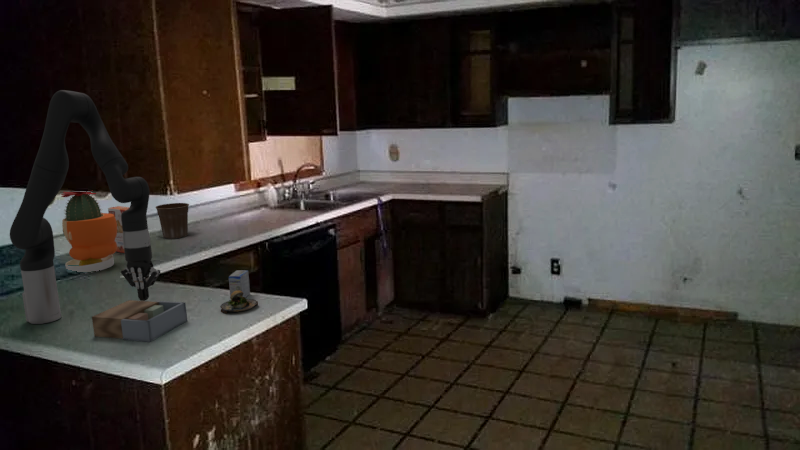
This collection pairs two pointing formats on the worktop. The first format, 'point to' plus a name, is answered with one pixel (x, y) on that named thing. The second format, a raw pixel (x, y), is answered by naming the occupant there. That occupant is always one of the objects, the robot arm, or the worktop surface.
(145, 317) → the tile terracotta
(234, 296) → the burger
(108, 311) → the wooden block
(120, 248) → the cracker box
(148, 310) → the tile sage
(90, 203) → the potted cactus
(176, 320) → the tray
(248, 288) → the medicine box
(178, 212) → the plant pot
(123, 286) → the worktop surface
